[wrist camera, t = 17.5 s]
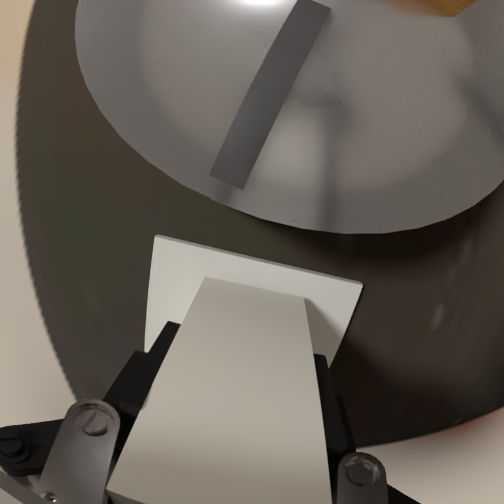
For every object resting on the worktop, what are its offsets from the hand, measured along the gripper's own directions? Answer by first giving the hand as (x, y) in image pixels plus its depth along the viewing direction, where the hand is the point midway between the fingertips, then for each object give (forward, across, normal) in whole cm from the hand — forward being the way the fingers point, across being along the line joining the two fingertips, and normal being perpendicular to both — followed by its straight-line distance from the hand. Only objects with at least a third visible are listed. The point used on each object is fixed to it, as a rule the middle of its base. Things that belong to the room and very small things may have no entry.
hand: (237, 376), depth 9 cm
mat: (+4, 0, 0) cm, 4 cm away
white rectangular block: (+3, 0, 0) cm, 3 cm away
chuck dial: (+2, 0, -13) cm, 13 cm away
